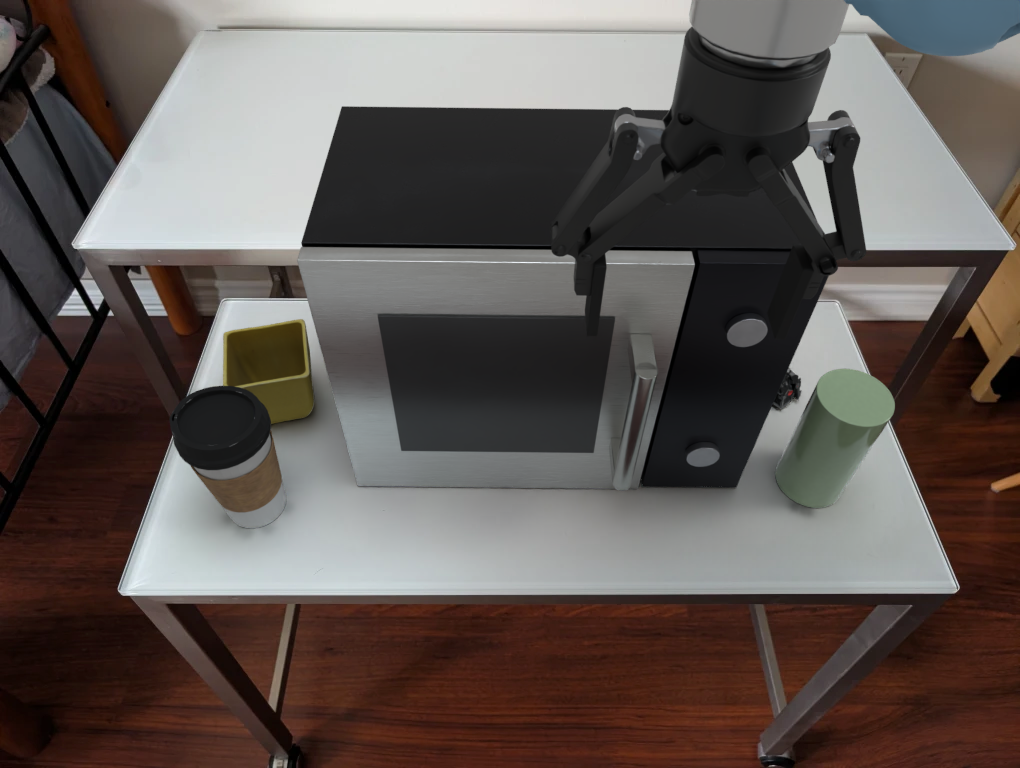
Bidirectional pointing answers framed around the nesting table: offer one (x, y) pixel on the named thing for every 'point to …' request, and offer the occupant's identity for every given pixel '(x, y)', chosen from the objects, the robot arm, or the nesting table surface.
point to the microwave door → (494, 363)
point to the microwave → (679, 227)
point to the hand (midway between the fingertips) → (683, 325)
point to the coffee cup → (231, 452)
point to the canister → (833, 436)
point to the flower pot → (272, 367)
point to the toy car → (788, 389)
